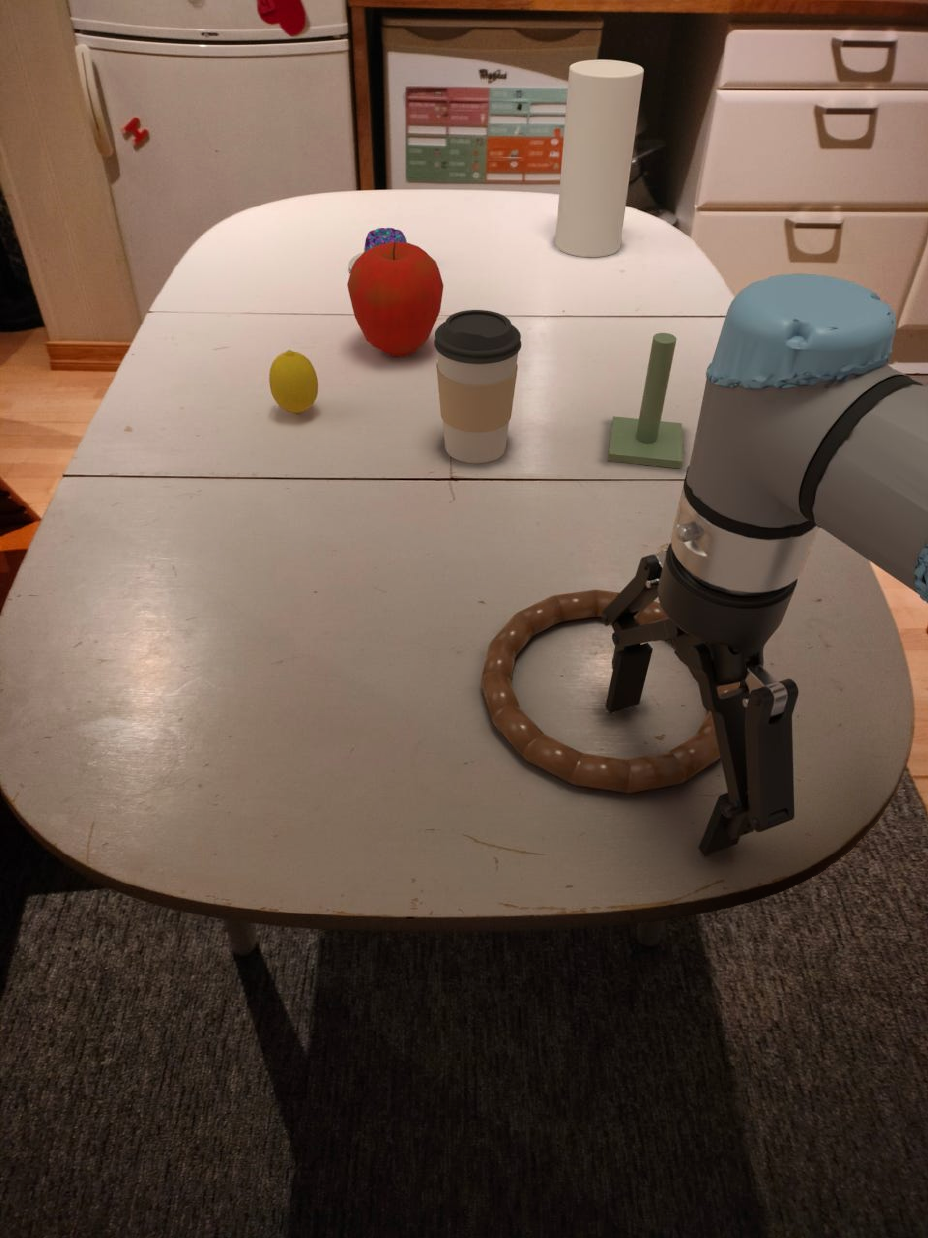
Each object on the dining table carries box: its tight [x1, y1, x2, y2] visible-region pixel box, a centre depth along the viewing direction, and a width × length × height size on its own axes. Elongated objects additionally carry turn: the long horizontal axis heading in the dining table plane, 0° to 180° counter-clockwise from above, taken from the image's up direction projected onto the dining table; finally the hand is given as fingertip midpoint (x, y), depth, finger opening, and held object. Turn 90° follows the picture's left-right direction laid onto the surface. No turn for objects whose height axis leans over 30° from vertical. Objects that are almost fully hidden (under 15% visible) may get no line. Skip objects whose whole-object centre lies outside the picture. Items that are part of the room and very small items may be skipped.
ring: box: [480, 589, 740, 794], centre depth 69 cm, size 21×21×2 cm
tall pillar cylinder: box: [554, 59, 645, 258], centre depth 131 cm, size 11×11×25 cm
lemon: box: [268, 349, 319, 415], centre depth 98 cm, size 6×6×8 cm
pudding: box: [347, 227, 408, 271], centre depth 130 cm, size 12×12×5 cm
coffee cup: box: [433, 309, 522, 464], centre depth 91 cm, size 9×9×15 cm
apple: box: [346, 242, 444, 358], centre depth 108 cm, size 12×12×14 cm
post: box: [607, 332, 683, 470], centre depth 92 cm, size 8×8×13 cm
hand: (666, 771), depth 64 cm, fingers open, 13 cm apart
